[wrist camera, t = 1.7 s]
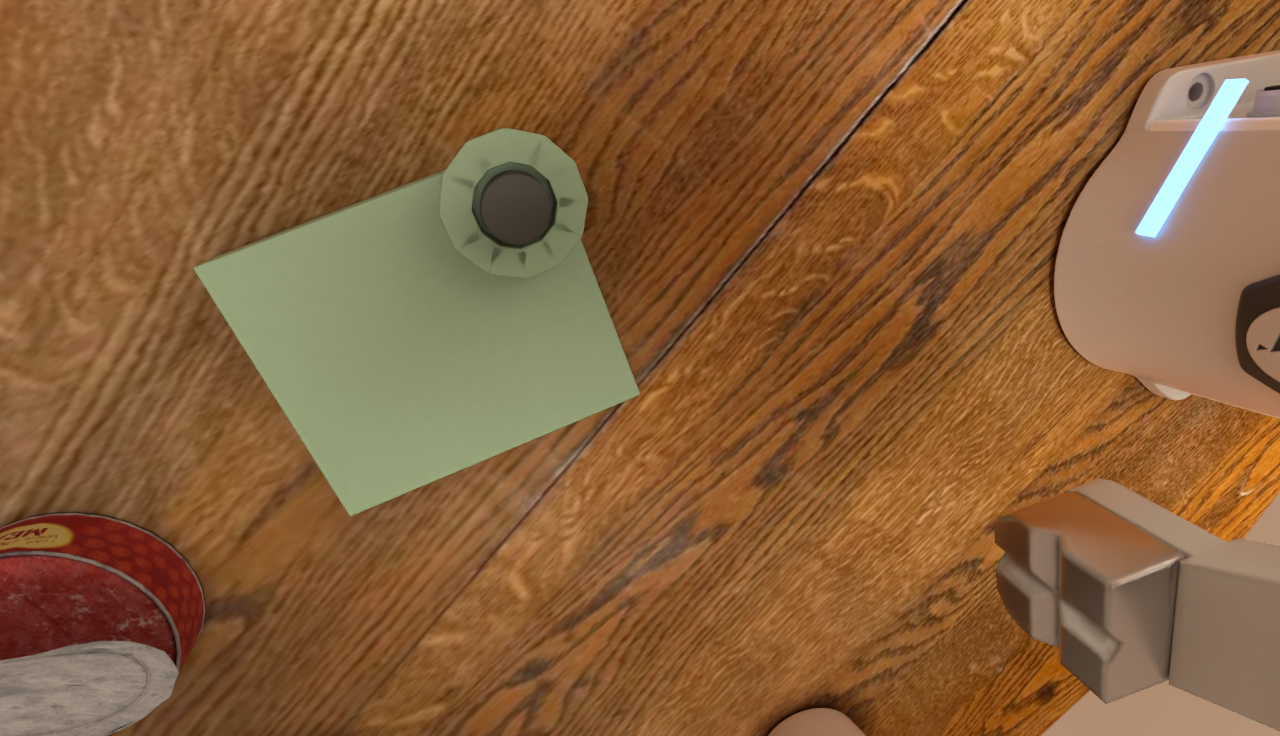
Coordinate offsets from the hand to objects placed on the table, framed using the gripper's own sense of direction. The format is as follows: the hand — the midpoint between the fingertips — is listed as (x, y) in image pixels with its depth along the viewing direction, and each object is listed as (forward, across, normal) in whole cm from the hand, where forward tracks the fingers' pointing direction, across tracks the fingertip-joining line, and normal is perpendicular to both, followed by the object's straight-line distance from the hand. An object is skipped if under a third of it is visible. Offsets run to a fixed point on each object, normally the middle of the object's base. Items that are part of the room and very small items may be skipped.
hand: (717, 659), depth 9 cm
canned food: (+24, +24, +9) cm, 35 cm away
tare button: (+21, 0, -4) cm, 21 cm away
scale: (+24, +5, +1) cm, 24 cm away
